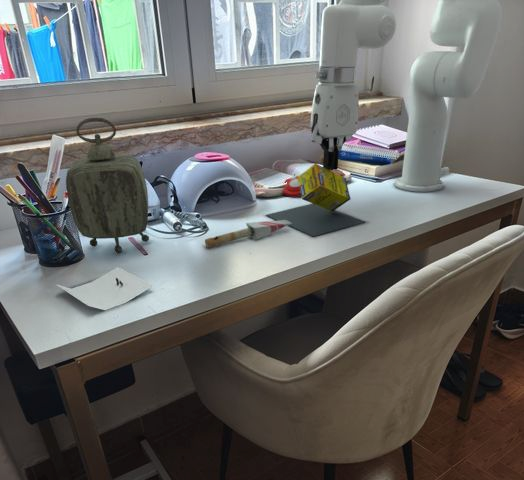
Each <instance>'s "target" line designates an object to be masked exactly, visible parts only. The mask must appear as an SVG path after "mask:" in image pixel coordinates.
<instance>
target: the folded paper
mask: <svg viewBox="0 0 524 480" xmlns="http://www.w3.org/2000/svg"><path fill="white" fill-rule="evenodd" d="M55 285H56V286H57V287H59V288H60V289H62V290H63V291H65V292H66V293H68V294H69V295H71V296H73V297H74V298H75V299H77V300H78V301H80V302H81V303H83V304H85V305H86V306H87V307H91V308H94V309H98V310H102V311H107V310H111V309H113V308H115V307H118V306H121V305H123V304H125V303H128V302H130V301H132V299H135V298H136V297H138V296H140V294H142V293H144V292H146V291H148V290H149V289H150V288H153V287H154V285H153V284H151V283H150V282H148V281H146V280H144V279H142V278H140V277H138V276H137V275H134V274H133V273H131V272H128V271H127V270H124V269H122V268H121V267H118V266H117V267H115V268H113V269H112V270H110V271H108V272H107V273H104V274H103V275H102V276H100V277H98V278H96V279H94V280H92V281H91V282H87V283H85V284H82V285H78V286H75V287H73V288H70V287H67V286H63V285H60V284H56V283H55Z"/></svg>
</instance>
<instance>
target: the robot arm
mask: <svg viewBox="0 0 524 480" xmlns="http://www.w3.org/2000/svg"><path fill="white" fill-rule="evenodd" d="M386 1H387V0H339V3H338V4H330V5H327V6H325V8H324V9H323V10H322V14H321V15H322V17H321V28H320V29H321V31H320V48H319V49H320V50H319V51H320V52H319V65H318V66H319V68H318V70H317V71H316V72H315V78H316V79H317V80H318V84H316V86H315V89H314V94H313V100H312V106H311V115H310V134H311V135H312V137H311V142H312V143H316V144H319V146H320V147H321V150H322V151H323V159H322V167H324V168H326V169H328V170H330V171H332V172H333V171H337V170H338V168H339V156H340V152H341V151H342V149H343V145H344V144H345V143H346V142H348V141H350V140H352V139H353V136H354V135H355V134H356V133H357V131H358V127H359V108H360V107H359V103H360V102H359V101H360V98H359V88H358V84H357V83H356V72H357V61H358V50H359V49H362V50H363V49H364V50H366V49H367V50H369V49H370V50H373V49H375V50H376V49H380V48H383V47H384V46H386V45H387V44H388V43H390V42H391V40H392V39H393V37H394V35H395V33H396V29H397V19H396V16H395V14H394V12H393V11H392V10H391V9H390V8H389V7H388V6H386V5H382V3H384V2H386ZM502 21H503V9H502V5H501V3H500V1H499V0H437V3H436V6H435V9H434V12H433V16H432V20H431V23H430V29H429V38H430V40H431V42H432V43H433V44H434V45H436V46H439V47H450V48H451V47H452V48H455V47H457V48H463V50H462V51H446V50H445V51H444V50H443V51H442V50H437V51H436V50H435V51H433V50H432V51H428V52H427V51H426V52H424V53H422V54H420V55H419V56H418V57H417V58H416V59H415V60H414V61H413V63H412V65H411V68H410V71H409V91H410V92H409V94H410V95H409V96H410V97H409V98H410V99H409V114H408V122H407V131H406V139H405V147H404V154H403V163H402V170H401V171H402V173H401V177H398V178H397V179H395V181H394V186H395V187H397V188H398V189H399V190H403V191H409V192H421V193H422V192H424V193H425V192H427V193H428V192H435V191H439V190H441V189H443V187H444V181H443V180H441V177H442V176H446V175H448V174H449V173H450V168H449V167H448V166H445V167H441V162H442V157H443V150H444V144H445V137H446V131H447V125H448V121H449V118H448V117H449V112H448V111H449V110H448V107H447V103H446V100H445V98H449V99H450V98H451V99H468V98H471V97H472V96H474V95H475V94H476V93H477V92H478V90H479V89H480V87H481V85H482V83H483V81H484V78H485V76H486V73H487V71H488V70H487V69H488V67H489V64H490V62H491V59H492V55H493V53H494V49H495V47H496V44H497V41H498V37H499V34H500V31H501V27H502Z"/></svg>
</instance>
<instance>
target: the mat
mask: <svg viewBox="0 0 524 480" xmlns="http://www.w3.org/2000/svg"><path fill="white" fill-rule="evenodd" d="M265 216H266V217H268V218H270V219H272V220H273V221H278V220H287V221H289V222H291V223H292V224H290V225H288V226H287V227H290V228H292V229H294V230H295V231H299V232H300V233H303V234H305V235H307V236H309V237H311V238H315V237H318V236H322V235H325V234H330V233H333V232H336V231H340V230H344V229H348V228H351V227H355V226H357V225H362V224H366V221H364V220H362V219H360V218H357V217H354V216H351V215H349V214H346V213H343V212H341V211H338V210H337V209H335V210H334V211H330V210H328V209H325V208H323V207H320V206H318V205H315V204H313V203H310V204H305V205H301V206H296V207H294V208H293V207H292V208H289V209H285V210H281V211H277V212H272V213H268V214H266V215H265Z"/></svg>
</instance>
